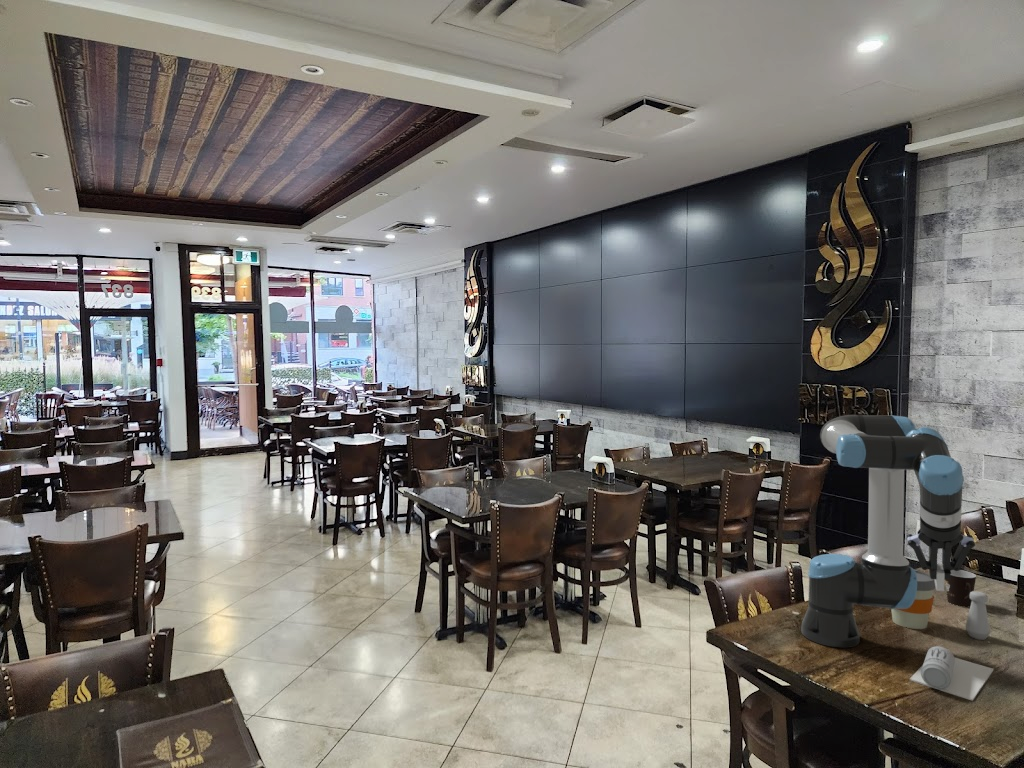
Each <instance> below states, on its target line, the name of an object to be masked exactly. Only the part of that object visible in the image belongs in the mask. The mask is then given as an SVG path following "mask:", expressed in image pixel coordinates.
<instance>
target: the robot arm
mask: <svg viewBox="0 0 1024 768" xmlns="http://www.w3.org/2000/svg"><path fill="white" fill-rule="evenodd" d="M819 439H820V442H821V444H822V445H823V447H824V448H825V449H827V450H828V451H829V452H830V453H832V454H836V460H837V462H838V463H837V464H838V465H839V466H842V467H846V468H847V467H849V468H854V469H858V468H861V469H862V468H863V469H865V468H866V469H868V513H867V514H868V522H867V523H868V525H867V527H868V528H867V535H868V536H867V551H866V552H865V553H863V554H862V555H861V562H856V561H855V560H854V558H853V557H852V556H850V555H847V554H841V553H840V554H838V553H826V554H820V555H816V556H813V558H812V559H810V561H809V568H808V572H807V575H808V603H807V604H808V606H807V609H806V612H805V613H804V617H803V620H802V621H801V628H800V629H801V630H800V632H801V634H802V635H803V636H804V637H805V638H806V639H807V640H809V641H811V642H814V643H817V644H820V645H822V646H827V647H832V648H840V649H841V648H842V649H843V648H853V647H857V646H858V645H859V643H860V631H859V628H858V627H859V626H858V625H857V622H856V618H855V615H854V605H858V606H866V607H867V606H868V607H876V608H886V609H889V610H891V609H907V608H909V607H910V606H911V605H912V604H913V602H914V600H915V597H916V592H917V581H916V580H917V575H916V572H915V570H916V569H914V567H911V566H910V562H909V560H908V559H907V558H906V557H905V556H904V515H905V514H904V511H905V507H904V506H905V505H904V502H905V499H904V498H905V470H909V471H911V470H912V471H913V472H914V474H915V476H916V480H917V481H918V486H919V529H918V531H917V534H911V533H910V534H909V533H908V534H906V539H907V540H906V541H907V545H908V546H909V547H910V548H911V549H913V552H914V553H915V556H916V558H917V560H918V563H919V565H920V568H921V569H922V570H923V571H927V570H928V572H929V573H928V574H930V578H931V579H934V580H935V590H936V592H945V580H949V579H950V575H951V570H955V571H959V570H961V568H962V566H963V564H964V562H965V560H966V558H967V556H968V554H969V552H970V550H972V549H973V548H974V547H975V546H976V543H975V540H974V537H973V535H971V534H967V535H964V534H963V531H962V505H963V502H962V500H963V485H964V481H965V479H964V475H963V468H962V467H963V466H962V465H961V464H960V462H959V461H957V460H955V458H952V457H951V453H950V450H949V447H948V445H947V443H946V441H945V439H944V438H943V436H942V435H941V434H940V432H939V431H937V430H936V429H934V428H932V427H924V426H923V427H922V426H921V427H919V428H916V426H915V424H914V422H913V421H912V420H911V418H909V417H907V416H901V415H892V414H891V415H888V414H887V415H886V414H885V415H883V414H881V415H870V414H869V415H867V414H866V415H865V414H847V415H846V414H845V415H840V416H837V417H834V418H831V419H830V420H828V421H827V422H826V423H824V425H823V426H822V427H821V429H820V433H819ZM921 542H922V543H923V544H924V545H926V546H927V547H928V557H929V558H928V560H927V559H926V557H925V554H924V552H923V550H922V547H921V545H920V544H921ZM957 544H958V546H957V547H956V550H955V552H954V554H953V557H952V548H954V547H955V546H956V545H957ZM939 549H941V550H942V551H941V552H942V553H941V563H938V553H939V551H938V550H939ZM951 558H952V559H951Z"/></svg>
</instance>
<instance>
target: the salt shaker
mask: <svg viewBox="0 0 1024 768" xmlns="http://www.w3.org/2000/svg"><path fill="white" fill-rule="evenodd" d="M970 599H971V600H972V602H971V606H970V607H969V610H968V615H967V619H966V623H965V630H966V631H967V633H968V635H969V636H970V638H973V639H976V640H982V641H984V640H986V639H987V638H988V636H989V635H990V633H991V627H990V623H989V618H988V617H989V616H988V612H987V611H988V610H987V606H986V604H987V602H988V600H989V597H988V594H986V593H985V592H982V591H979V590H974V591H972V592H970Z"/></svg>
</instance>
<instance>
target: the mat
mask: <svg viewBox="0 0 1024 768" xmlns="http://www.w3.org/2000/svg"><path fill="white" fill-rule="evenodd" d="M954 658H955V665H954V669H953V673H952V677H951V681H950V684H949V686H948V687H946V688H944V689H937V690H939V691H941V692H944V693H947V694H950V695H953V696H955V697H959V698H962V699H966V700H969V701H974V699H975V698H976V697H977V695H978V694H979V692H980V691H981V690H982V688H983V686H984V685H985V683H986V682H987V681H988V679H989V677H990V676H991V674H992V673H993V671H994V668H992V667H988V666H985V665H981V664H979V663H975V662H971V661H968V660H965V659H962V658H958V657H955V656H954ZM922 667H923V664H922V665H921V666H920V667H919V668H918V670H916V672H915V673H914V674H913V675H912V676H911V677H910V678H909V681H910V682H914V683H915V684H916V683H917V684H920V685H923V686H925V687H928V688H932V687H931V686H929V685H928V684H926V683H925V682H924V680H923V679H922V676H921V670H922Z"/></svg>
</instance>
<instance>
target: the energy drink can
mask: <svg viewBox="0 0 1024 768" xmlns="http://www.w3.org/2000/svg"><path fill="white" fill-rule="evenodd" d="M954 657H955V656H954V654H953V653H952V651H951V650H949V649H948V648H946V647H944V646H940V645H938V646H937V645H936V646H931V647H930V648H929V649H928V650H927V653H926V655H925V658H924V661H923V664H922V665H923V667H922V670H921V676H922V679H923V680H924V682H925V683H926V684H928V685H929V686H931V687H930V688H932V689H936V690H938V689H944V688H946V687H948V686H949V684H950V681H951V677H952V673H953V669H954V665H955V658H956V657H955V658H954ZM929 686H928V687H929Z"/></svg>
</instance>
